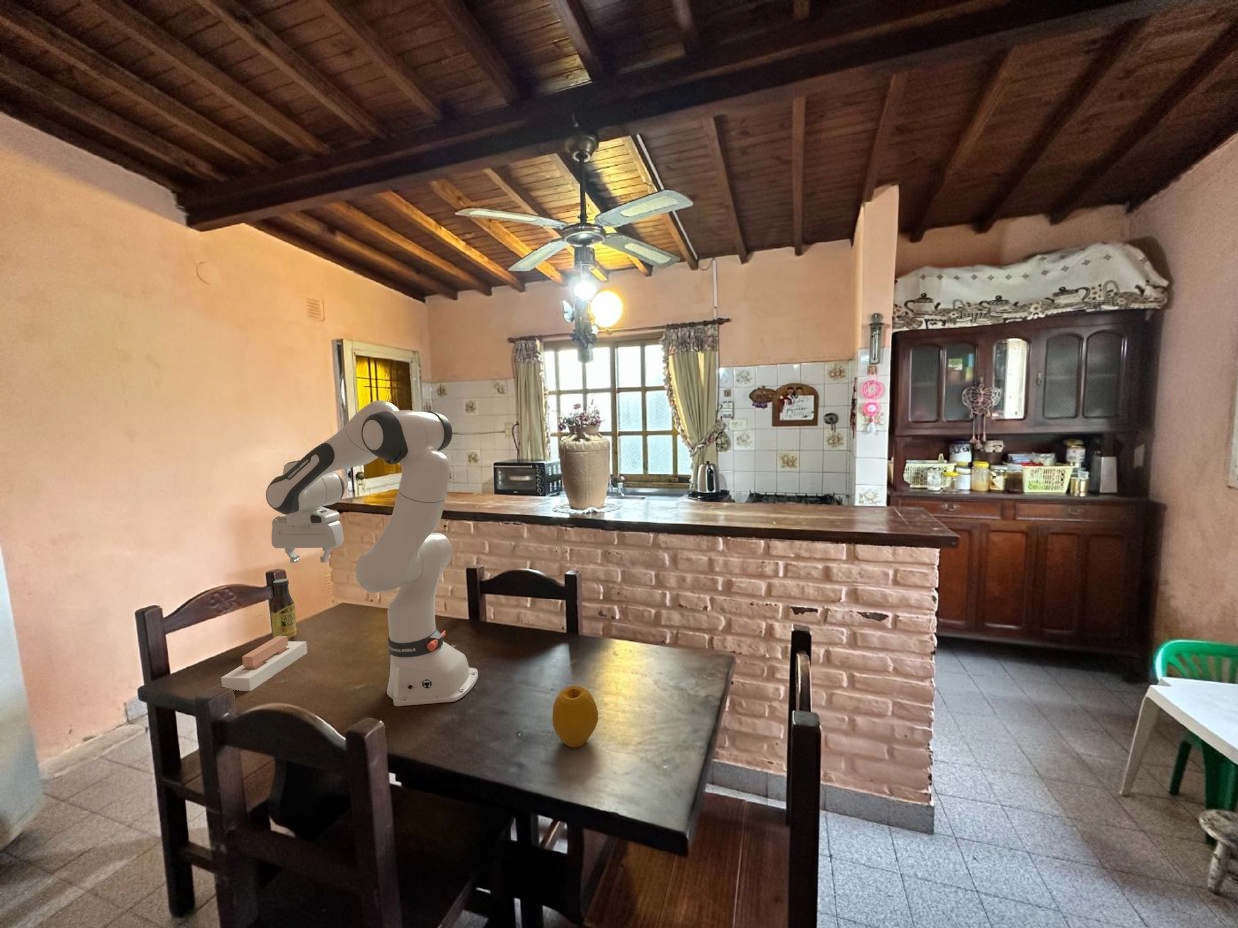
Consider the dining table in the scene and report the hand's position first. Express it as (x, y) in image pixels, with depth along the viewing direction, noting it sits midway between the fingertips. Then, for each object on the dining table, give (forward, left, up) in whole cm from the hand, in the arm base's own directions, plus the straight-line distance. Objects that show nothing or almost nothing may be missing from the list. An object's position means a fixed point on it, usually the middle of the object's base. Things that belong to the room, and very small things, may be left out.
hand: (309, 562), depth 140 cm
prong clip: (+9, +9, -29) cm, 31 cm away
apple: (-84, +33, -29) cm, 95 cm away
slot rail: (+9, +9, -29) cm, 31 cm away
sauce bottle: (+18, -8, -29) cm, 35 cm away
